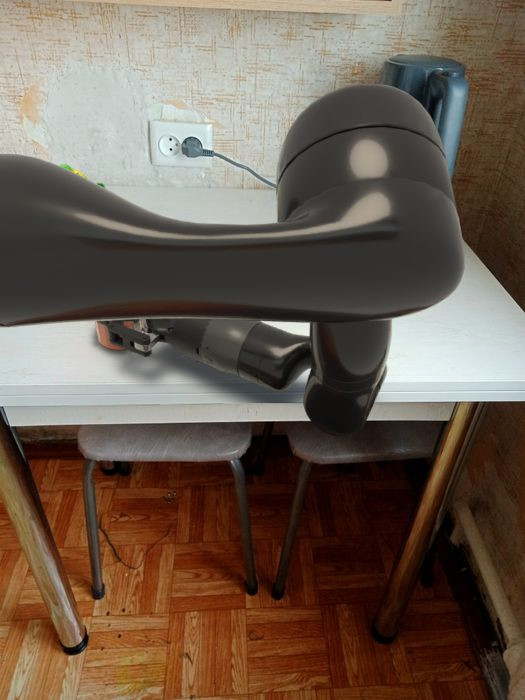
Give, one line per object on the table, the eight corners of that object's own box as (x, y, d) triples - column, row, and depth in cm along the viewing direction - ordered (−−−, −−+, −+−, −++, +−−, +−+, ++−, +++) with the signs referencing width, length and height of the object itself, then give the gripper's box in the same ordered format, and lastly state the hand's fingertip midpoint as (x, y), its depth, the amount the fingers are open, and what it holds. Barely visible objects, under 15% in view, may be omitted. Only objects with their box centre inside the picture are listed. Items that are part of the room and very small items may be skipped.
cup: (108, 355, 69) (98, 300, 63) (91, 330, 73) (81, 276, 67) (152, 340, 72) (146, 286, 66) (134, 317, 76) (127, 264, 70)
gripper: (251, 284, 64) (149, 248, 70) (184, 343, 55) (72, 296, 60) (248, 331, 69) (154, 294, 75) (187, 393, 59) (83, 345, 65)
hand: (117, 295), depth 68 cm, fingers open, 8 cm apart
